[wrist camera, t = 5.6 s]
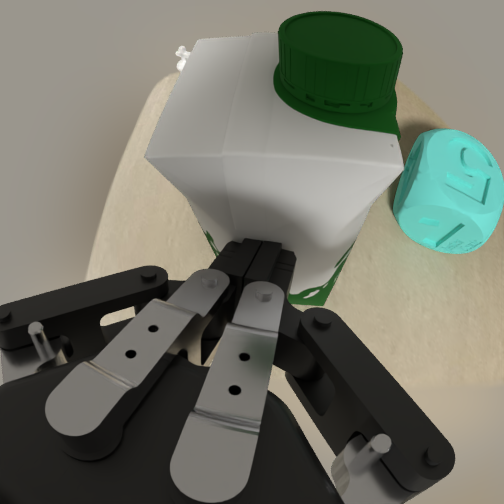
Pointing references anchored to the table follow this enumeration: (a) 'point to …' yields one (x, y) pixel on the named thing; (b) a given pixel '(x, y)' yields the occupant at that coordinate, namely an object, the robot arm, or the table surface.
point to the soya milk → (286, 138)
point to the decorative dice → (449, 192)
